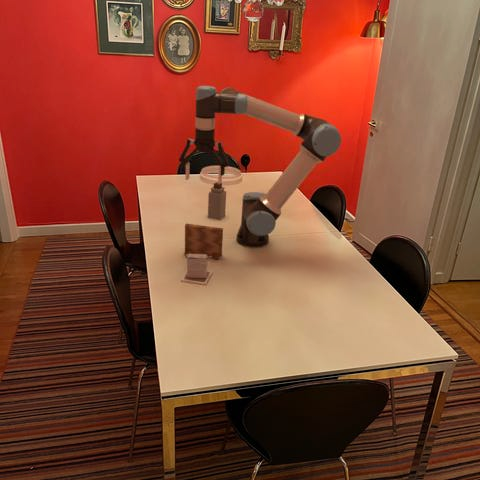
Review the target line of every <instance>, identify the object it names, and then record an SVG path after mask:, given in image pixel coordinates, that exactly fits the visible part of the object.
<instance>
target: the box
mask: <svg viewBox="0 0 480 480" xmlns="http://www.w3.org/2000/svg"><path fill="white" fill-rule="evenodd" d="M186 271H187V277H188V278H207V271H208V256H207V254H188V255H186Z"/></svg>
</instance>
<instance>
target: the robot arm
mask: <svg viewBox="0 0 480 480" xmlns="http://www.w3.org/2000/svg"><path fill="white" fill-rule="evenodd" d="M216 114H231V115H246V116H248V117H250V118H254V119H256V120H259V121H261V122H265V123H267V124H269V125H271V126H272V125H273V126H275V127H278V128H281V129H282V130H284V131H285V130H286V131H289V132H291V133H292V134H293V136H295V137H298V138H300V139H302V141H301V143H300V145H299V146H300V147H299V148H300V150H299V151H298V153H297V154H296V156H295V157H294V158H293V159H292V161H290V163H289V164H288V166H287V167H286V168H285V169H284V171H283V172H282V174H281V175H280V176H279V177H278V179H276V181H275V182H274V184H273V185H272V187H270V189H268V191H267V192H266V193H264V192H257V191H253V192H252V191H249V192H245V193H243V196H242V199H241V201H242V207H241V220H240V222H241V223H240V226H239V228H238V231H237V233H236V242H237V243H238V244H239V245H242V246H245V247H248V248H261V247H264V246H267V245H268V244H269V242H270V235H269V234H271V233H272V232H273V231H274V230H275V228H276V224H277V223H276V221H277V220H278V219H279V217H281V215H282V208H283V206H284V205H285V204H286V203H287V202H288V200H289V199H290V198H291V196H292V195H294V193H295V192H296V191H297V189H298V188H299V187H300V186H301V184H302V183H303V182H304V181H305V180H306V178H307V176H308V175H309V174H310V173H311V171H312V170H313V169H314V168H315V167H316V165H317V164H319V163H323V162H324V161H325V160H327V157H330V156H332V155H334V154H336V153H337V152H338V151H339V149H340V147H341V143H342V136H341V134H340V131H339V130H338V128H337V127H336V126H335V125H333V124H331V123H329V121H327V120H326V119H323V118H319V117H314V116H311V115H308V114H306V113H303V112H301V114H298V113H296V112H292V111H290V110H287V109H285V108H282V107H280V106H277V105H274V104H272V103H269V102H266V101H265V100H262V99H259V98H257V97H253V96H250V95H248V94H245V93H243V92H240V91H236V90H235V89H234V88H231V87H225V88H223V89H222V90H221V92H219V91H218V92H217V88H216V87H215V86H210V85H200V86H198V87H197V88H196V92H195V120H194V121H195V123H194V125H195V126H194V127H195V131H194V132H195V133H194V138H195V139H192V138H191V137H190V138H188V139H187V140H186V146H185V147H184V149H183V150H182V153H181V155H180V156H179V158H178V162H180V163H182V164H183V167H182V168H183V172H185V180H186V181H188V180H189V179H190V169H191V168H190V165H191V163H190V162H189V161H190V160H191V159H192V157H194V156H195V154H196V153H198V152H200V153H206V154H208V153H209V154H210V156H212V157H213V158H214V160H215V161H216V163H217V164H218V166H220V167H219V173H218V176H217V177H218V184H220V183H221V182H222V177H224V175H225V174H226V173H225V167H228V166H229V165H230V162H229V159H228V157H227V154H226V153H225V149H224V147H223V142H222V141H219V142H216V140H215V134H216V133H215V131H216V130H215V127H216ZM193 145H194V146H195V148H194V149H193V150H192V152H190V153H189V155H188V156H187V154H188V151H189V150H190V149H191V147H192V146H193ZM214 147H216V148H217V149H218V151H219V154H218V152H217V151H216V149H215V148H214ZM219 155H220V156H221V157H220V156H219ZM186 156H187V157H186ZM185 157H186V158H185ZM229 167H230V166H229Z"/></svg>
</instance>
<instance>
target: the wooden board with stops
mask: <svg viewBox="0 0 480 480" xmlns="http://www.w3.org/2000/svg"><path fill="white" fill-rule="evenodd" d="M223 236H224V228H221V227H216V226H209V225H208V226H207V225H201V224H200V225H199V224H193V223H187V222H186V224H184V255H186V256H188V254H207V257H211V259H215V260H220V259H221V258H222V256H223V239H224V238H223Z"/></svg>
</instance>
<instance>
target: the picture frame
mask: <svg viewBox="0 0 480 480" xmlns="http://www.w3.org/2000/svg"><path fill="white" fill-rule="evenodd" d="M212 275H213V271H211V270H207V278H188V277H187V270H186V271H185V273H184V275H182V278H180V282H182V283H187V284H196V285H201V286H202V285H203V286H207V284H208V282H209V280H210V278H211V277H212Z"/></svg>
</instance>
